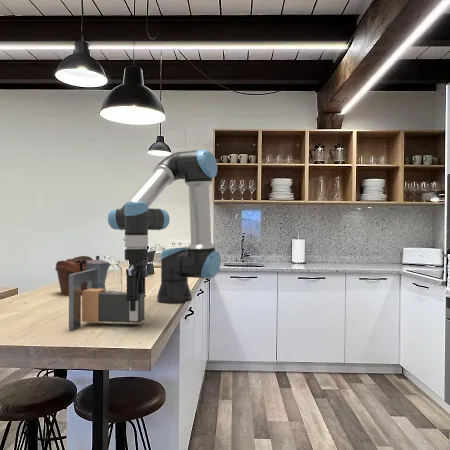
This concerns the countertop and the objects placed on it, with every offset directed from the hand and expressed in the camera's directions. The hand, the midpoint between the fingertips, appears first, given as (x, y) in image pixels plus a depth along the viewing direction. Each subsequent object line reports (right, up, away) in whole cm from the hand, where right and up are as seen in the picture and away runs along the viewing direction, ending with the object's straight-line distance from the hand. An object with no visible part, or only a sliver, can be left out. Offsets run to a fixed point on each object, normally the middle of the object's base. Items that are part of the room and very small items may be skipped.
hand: (136, 318), depth 136 cm
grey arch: (-18, -2, +2) cm, 18 cm away
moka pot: (-27, -3, +42) cm, 50 cm away
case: (-44, -3, +65) cm, 78 cm away
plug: (-8, -1, +1) cm, 8 cm away
